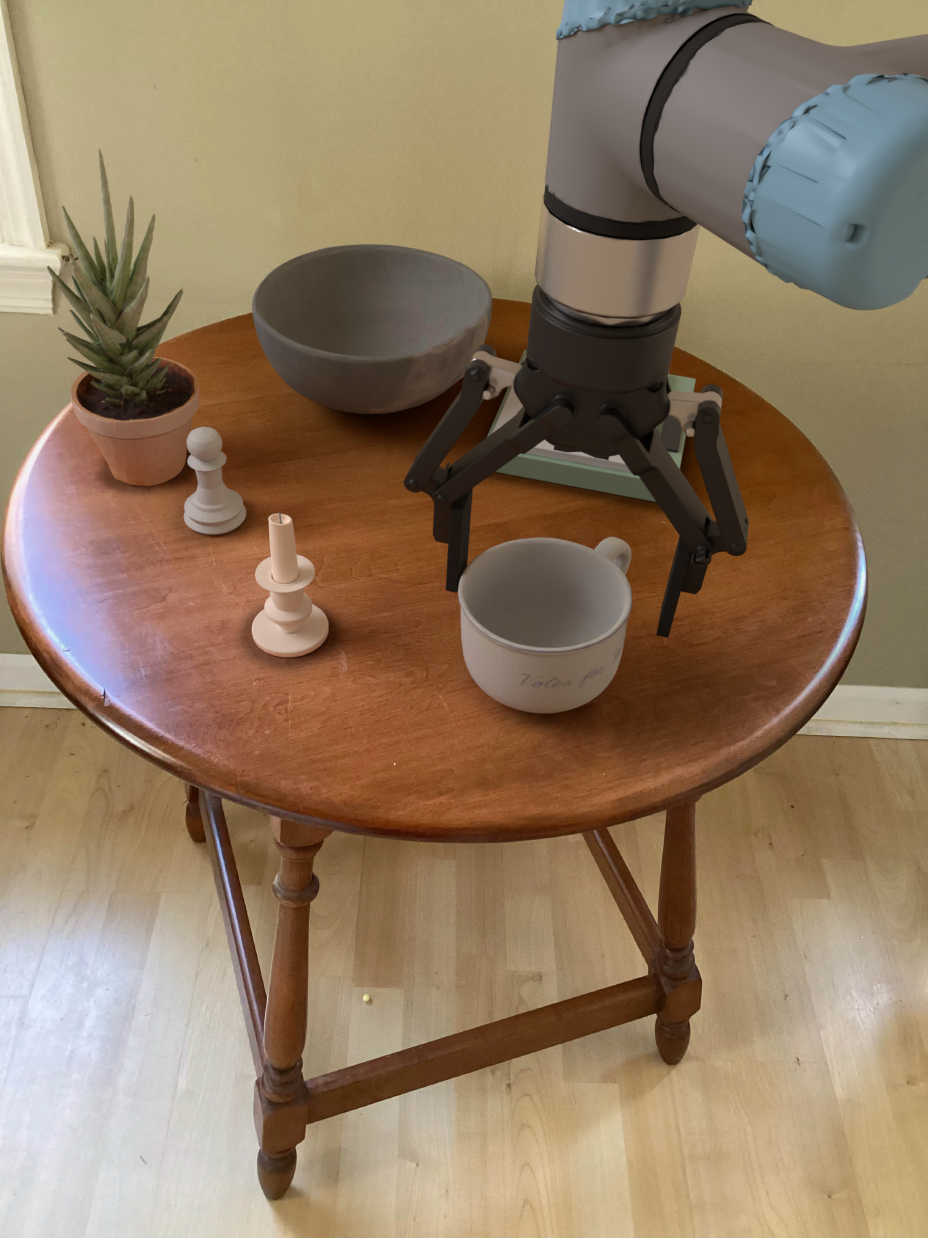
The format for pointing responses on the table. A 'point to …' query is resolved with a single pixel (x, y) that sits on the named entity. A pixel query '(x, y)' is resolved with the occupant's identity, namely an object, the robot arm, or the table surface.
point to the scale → (584, 467)
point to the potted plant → (126, 358)
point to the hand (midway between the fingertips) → (559, 600)
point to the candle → (287, 597)
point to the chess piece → (211, 487)
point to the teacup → (545, 621)
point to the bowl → (371, 325)
